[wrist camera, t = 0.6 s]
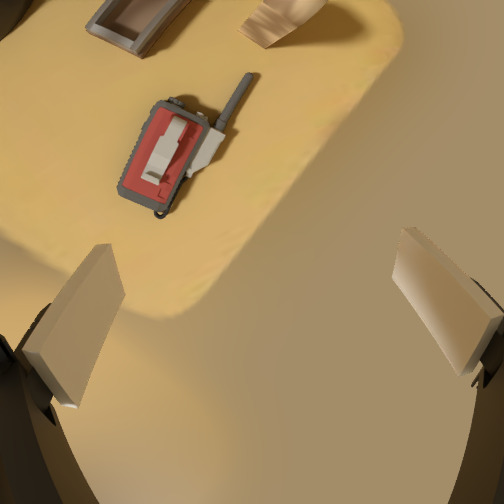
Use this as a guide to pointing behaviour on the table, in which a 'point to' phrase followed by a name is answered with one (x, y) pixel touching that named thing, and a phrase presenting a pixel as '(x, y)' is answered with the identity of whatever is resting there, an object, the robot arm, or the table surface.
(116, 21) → the rail
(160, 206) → the walkie-talkie
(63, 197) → the table surface
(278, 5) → the block
